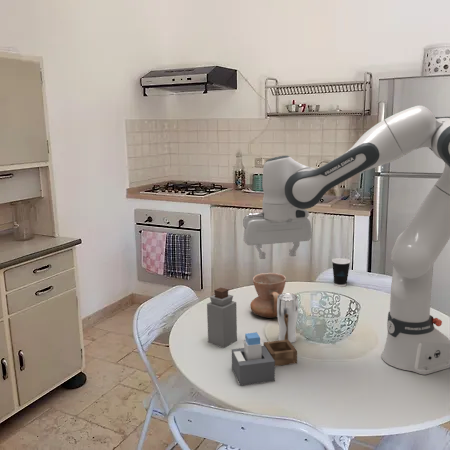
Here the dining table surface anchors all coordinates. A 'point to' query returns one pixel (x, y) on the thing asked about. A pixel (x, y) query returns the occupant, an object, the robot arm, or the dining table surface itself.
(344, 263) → the dixie cup
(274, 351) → the holster
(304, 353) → the dining table surface
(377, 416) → the dining table surface
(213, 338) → the perfume bottle
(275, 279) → the ceramic jug
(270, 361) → the port
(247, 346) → the plug
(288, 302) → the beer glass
